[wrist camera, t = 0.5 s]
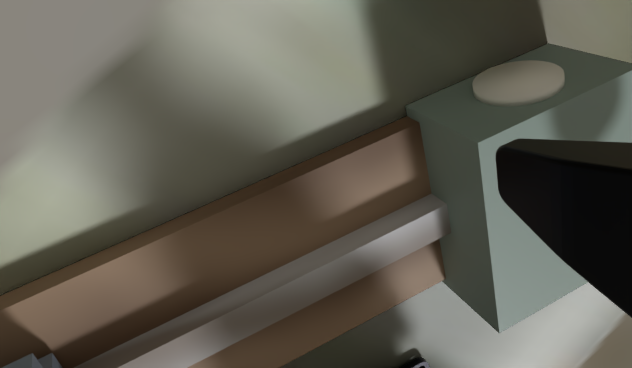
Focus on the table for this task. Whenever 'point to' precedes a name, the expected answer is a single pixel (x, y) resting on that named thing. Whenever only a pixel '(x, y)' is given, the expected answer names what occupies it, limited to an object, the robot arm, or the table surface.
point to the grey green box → (481, 175)
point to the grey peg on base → (35, 362)
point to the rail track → (248, 269)
